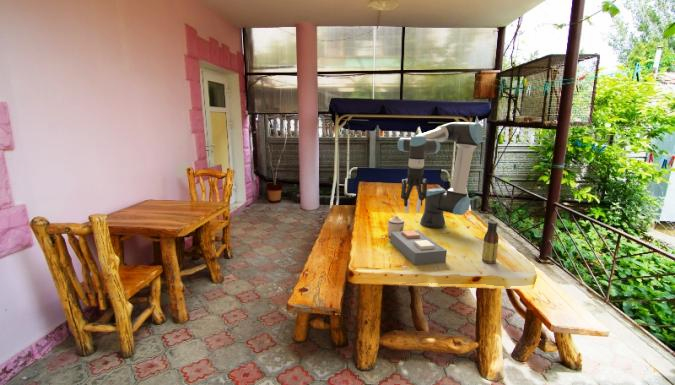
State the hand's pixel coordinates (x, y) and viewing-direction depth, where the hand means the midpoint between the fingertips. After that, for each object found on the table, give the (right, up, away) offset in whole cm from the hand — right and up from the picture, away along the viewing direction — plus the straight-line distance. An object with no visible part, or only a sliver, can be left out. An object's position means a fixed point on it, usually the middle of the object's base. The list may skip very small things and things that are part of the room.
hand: (412, 212), depth 164 cm
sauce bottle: (+33, -23, -12) cm, 42 cm away
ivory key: (+3, -18, -10) cm, 21 cm away
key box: (+1, -20, -2) cm, 20 cm away
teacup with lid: (-5, -15, +21) cm, 26 cm away
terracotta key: (0, -15, +3) cm, 15 cm away
